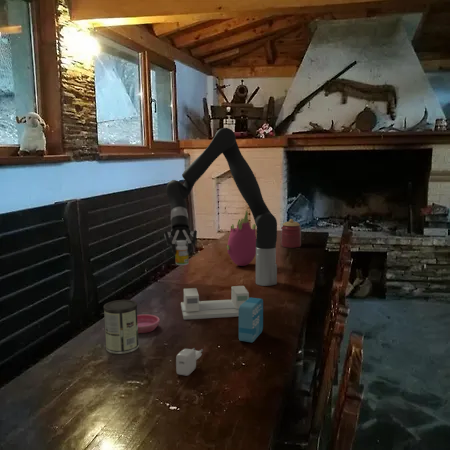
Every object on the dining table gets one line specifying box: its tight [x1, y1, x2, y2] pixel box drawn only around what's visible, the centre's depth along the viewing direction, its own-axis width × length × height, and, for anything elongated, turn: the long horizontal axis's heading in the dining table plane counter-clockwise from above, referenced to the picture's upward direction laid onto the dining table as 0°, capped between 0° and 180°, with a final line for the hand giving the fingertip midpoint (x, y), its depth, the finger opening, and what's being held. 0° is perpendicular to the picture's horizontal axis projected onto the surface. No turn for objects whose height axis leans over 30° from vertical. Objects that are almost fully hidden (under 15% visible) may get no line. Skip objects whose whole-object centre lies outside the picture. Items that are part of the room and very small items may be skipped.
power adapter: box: [175, 347, 204, 377], centre depth 138 cm, size 11×5×6 cm, turn 159°
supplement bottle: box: [174, 240, 190, 266], centre depth 200 cm, size 5×5×10 cm
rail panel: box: [180, 285, 250, 321], centre depth 187 cm, size 26×16×8 cm, turn 99°
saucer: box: [137, 313, 161, 334], centre depth 169 cm, size 12×12×3 cm
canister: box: [280, 218, 302, 249], centre depth 310 cm, size 13×13×18 cm
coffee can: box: [103, 299, 140, 355], centre depth 152 cm, size 10×10×14 cm
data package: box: [238, 296, 264, 344], centre depth 160 cm, size 12×4×12 cm, turn 158°
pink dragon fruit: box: [226, 210, 257, 267], centre depth 257 cm, size 18×14×30 cm
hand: (182, 252), depth 198 cm, fingers closed on supplement bottle, 5 cm apart
